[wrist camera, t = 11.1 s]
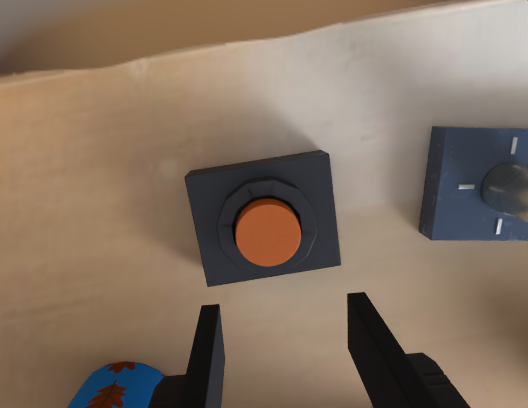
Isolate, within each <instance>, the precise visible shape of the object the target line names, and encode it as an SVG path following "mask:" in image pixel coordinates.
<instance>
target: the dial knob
mask: <svg viewBox="0 0 528 408" xmlns="http://www.w3.org/2000/svg"><path fill="white" fill-rule="evenodd" d="M482 197H483V200H484V202H485V203H486V205H487V206H488V207H490V208H491V209H493V210H495V211H498V212H500V213H503V214H506V215H508V216H511V217H513V218H516V219H518V220H521V221H524V222H526V223H528V165H526V164H520V163H515V162H507V163H503V164H500V165H498V166H496V167H495V168H493V169H492V170H491V171H490V172H489V173H488V174H487V176H486V177H485V179H484V181H483V184H482Z"/></svg>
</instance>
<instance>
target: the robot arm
mask: <svg viewBox="0 0 528 408" xmlns="http://www.w3.org/2000/svg"><path fill="white" fill-rule="evenodd" d="M347 304H348V349H349V352H350V354H351V356H352V359H353V361H354V363H355V366H356V368H357V370H358V373H359V375H360V377H361V379H362V382H363V384H364V386H365V389H366V391H367V393H368V396H369V398H370V400H371V402H372V405H373V407H374V408H470V406H469V405H468V404H467V403H466V401H465V400H464V399H463V397H462V396H461V395H460V393H459V392H458V391H457V389H456V388H455V387H454V385H453V384H451V382H450V380H449V379H448V378H447V376H446V375H444V372H443V371H442V370H441V368H440V367H439V366H438V364H437V363H436V362H435V361H434V360H432V359H431V358H429V357H428V356H427V355H425V354H424V353H412V354H405V352H404V351H403V349H402V348H401V346H400V345H399V343H398V342H397V340H396V339H395V337H394V336H393V334H392V333H391V331H390V330H389V328H388V327H387V325H386V324H385V322H384V321H383V319H382V318H381V316H380V315H379V313H378V312H377V310H376V309H375V307H374V306H373V304H372V303H371V301H370V300H369V298H368V297H367V295H366V294H365V292H360V293H348V294H347ZM224 366H225V353H224V344H223V334H222V325H221V315H220V306H219V304H215V305H203V306H202V307H201V311H200V315H199V320H198V324H197V328H196V333H195V337H194V341H193V346H192V350H191V354H190V359H189V363H188V367H187V372H186V374H185V375H174V376H164V377H163V378H162V379H161V380H160V382H159V383H158V384H157V385H156V386H155V388H154V390H153V393H152V396H151V399H150V402H149V405H148V408H221V401H222V389H223V377H224Z"/></svg>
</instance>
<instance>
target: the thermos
mask: <svg viewBox="0 0 528 408" xmlns="http://www.w3.org/2000/svg"><path fill="white" fill-rule="evenodd" d="M163 377H164V375H163V374H162V373H161V372H160V371H158V370H156V369H154V368H151V367H149V366H147V365H145V364H140V363H132V362H121V363H115V364H109V365H107V366H105V367H103V368H101V369H99V370H97V371H95V372H93V373H92V375H91V376H90V377H89V378H88V379H87V380H86V381H85V383H84V384H83V385H82V387H81V388H80V389H79V391H78V392H77V394H76V395H75V397H74V398H73V399H72V401H71V402H70V404H69V405H68V407H67V408H148V405H149V402H150V399H151V396H152V393H153V390H154V388H155V386H156V385H157V384H158V383H159V382H160V380H161V379H162V378H163Z"/></svg>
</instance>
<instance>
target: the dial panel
mask: <svg viewBox="0 0 528 408" xmlns="http://www.w3.org/2000/svg"><path fill="white" fill-rule="evenodd" d="M507 162H515V163H520V164H526V165H528V128H485V127H439V126H433V127H432V134H431V142H430V149H429V157H428V165H427V172H426V180H425V188H424V195H423V203H422V211H421V218H420V226H419V232H420V233H422V234H423V235H424V236H426V237H427V238H429V239H430V240H482V241H528V223H526V222H524V221H521V220H518V219H516V218H513V217H511V216H508V215H506V214H503V213H500V212H498V211H495V210H493V209H491V208H490V207H488V206H487V205H486V203H485V202H484V200H483V197H482V184H483V181H484V179H485V177H486V176H487V174H488V173H489V172H490V171H491V170H492V169H493V168H495V167H496V166H498V165H500V164H503V163H507Z"/></svg>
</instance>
